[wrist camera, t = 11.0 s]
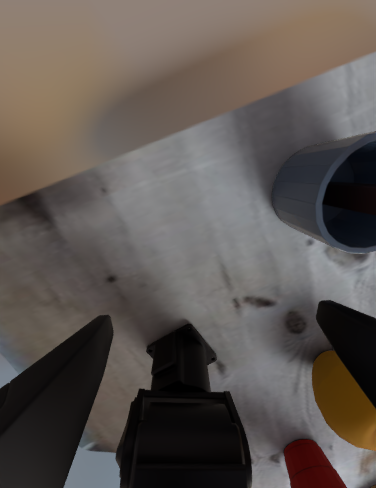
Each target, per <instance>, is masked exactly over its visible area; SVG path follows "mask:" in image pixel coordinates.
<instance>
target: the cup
mask: <svg viewBox="0 0 376 488" xmlns="http://www.w3.org/2000/svg"><path fill="white" fill-rule="evenodd" d="M329 182H345V183H365V184H376V131H374V132H370V133H365V134H360V135H356V136H351V137H347V138H342V139H338V140H333V141H329V142H324V143H320V144H316V145H312V146H309V147H306V148H304V149H302V150H300V151H298V152H296V153H295V154H294V155H292V156H291V157H290V158H289V159H288V160H287V161H286V162H285V163H284V164H283V166H282V167H281V169H280V170H279V172H278V174H277V176H276V178H275V181H274V184H273V189H272V203H273V207H274V210H275V212H276V214H277V216H278V217H279V218H280V219H281V220H282V221H283V222H284V223H285V224H287V225H288V226H290V227H292V228H294V229H296V230H298V231H300V232H302V233H304V234H306V235H308V236H310V237H312V238H314V239H317V240H319V241H321V242H323V243H325V244H327V245H329V246H331V247H333V248H336V249H338V250H341V251H343V252H346V253H360V254H364V253H369V252H373V251H376V215H371V214H367V213H362V212H357V211H352V210H348V209H343V208H338V207H333V206H329V205H324V204H322V202H323V198H324V194H325V191H326V187H327V185H328V183H329Z"/></svg>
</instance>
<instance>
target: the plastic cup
mask: <svg viewBox="0 0 376 488" xmlns="http://www.w3.org/2000/svg"><path fill="white" fill-rule="evenodd" d="M284 456H285V462H286V466H287V470H288V474H289V478H290V485H291V488H347V487H346V485H345V484H344V482H343V481H342V479H341V478H340V476H339V474H338V473H337V471H336V470H335V469H334V468H333V466H332V465H331V463H330V462H329V460H328V459H327V457H326V456H325V454H324V452H323V451H322V449H321V448H320V447H319V446H318V444H317V443H316V442H314V441H313V440H308V439H303V440H297V441H294V442H292V443H291V444H289V445H287V447H286V448H285V449H284Z"/></svg>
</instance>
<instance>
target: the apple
mask: <svg viewBox="0 0 376 488" xmlns="http://www.w3.org/2000/svg"><path fill="white" fill-rule="evenodd" d="M312 386H313V391H314V396H315V401H316V403H317V405H318V407H319V409H320V411H321V413H322V415H323V417H324V419H325V421H326V423H327V424H328V425H329V427H330V428H331V429H332V430H333V431H334V432H335V433H336V434H337V435H338V436H339V437H341V438H342V439H344V440H346V441H347V442H349V443H351V444H352V445H354V446H356V447H359V448H364V449H369V450H374V451H376V409H375V407H374V406H373V405H372V403H371V402H370V401H369V399H368V398H367V396H366V395H365V394H364V392H363V391H362V389H361V388H360V387H359V385H358V384H357V382H356V381H355V380H354V378H353V377H352V376H351V374H350V373H349V371H348V370H347V369H346V367H345V366H344V364H343V363H342V362H341V360H340V359H339V357H338V356H337V354H336V353H335V351H326V352H323V353H321V354H320V355H319V356H318V357H317V358H316V359H315V361H314V364H313V369H312Z"/></svg>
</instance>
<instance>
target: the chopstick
mask: <svg viewBox="0 0 376 488" xmlns="http://www.w3.org/2000/svg"><path fill="white" fill-rule="evenodd" d="M322 204H324V205H329V206H333V207H338V208H343V209H348V210H352V211H357V212H362V213H367V214H371V215H376V184H365V183H345V182H329V183H328V185H327V187H326V191H325V194H324V198H323V202H322Z"/></svg>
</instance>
